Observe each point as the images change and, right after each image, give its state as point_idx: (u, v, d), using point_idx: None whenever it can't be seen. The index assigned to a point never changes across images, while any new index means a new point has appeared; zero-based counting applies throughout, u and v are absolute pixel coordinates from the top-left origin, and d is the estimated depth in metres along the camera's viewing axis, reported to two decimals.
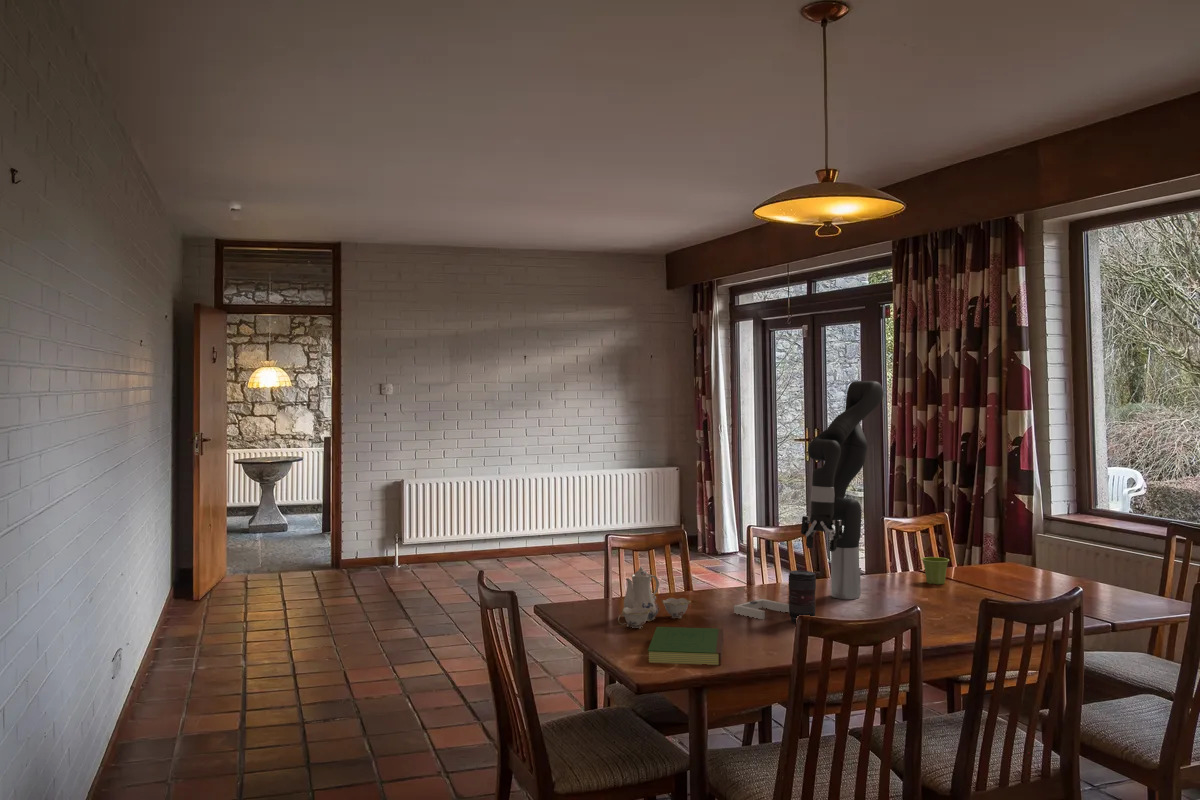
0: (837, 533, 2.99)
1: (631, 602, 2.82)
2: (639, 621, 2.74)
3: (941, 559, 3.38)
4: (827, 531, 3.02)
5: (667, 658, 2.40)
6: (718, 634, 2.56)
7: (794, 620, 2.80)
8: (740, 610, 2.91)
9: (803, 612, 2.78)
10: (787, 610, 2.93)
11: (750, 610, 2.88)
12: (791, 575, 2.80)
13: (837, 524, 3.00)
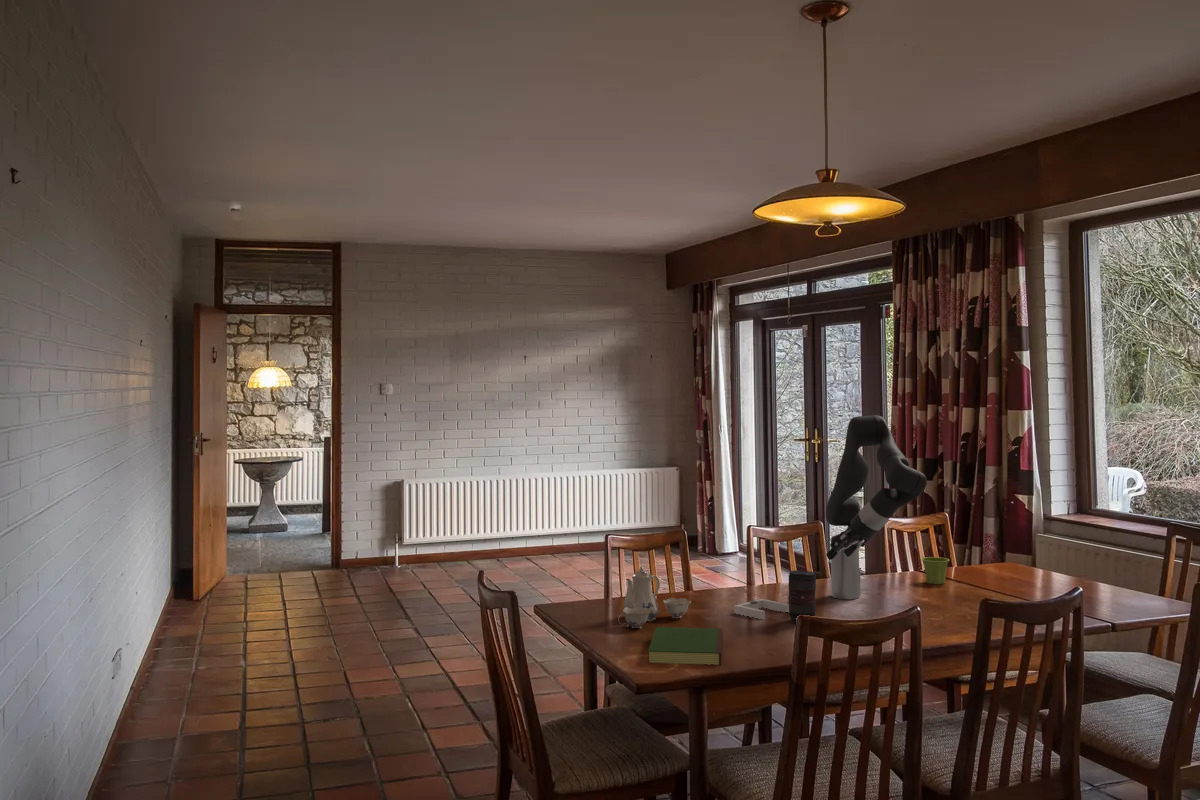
0: (865, 543, 2.72)
1: (631, 602, 2.82)
2: (639, 621, 2.74)
3: (942, 559, 3.38)
4: (860, 545, 2.69)
5: (667, 658, 2.40)
6: (718, 634, 2.56)
7: (794, 620, 2.80)
8: (740, 610, 2.91)
9: (803, 612, 2.78)
10: (787, 610, 2.93)
11: (750, 610, 2.88)
12: (791, 575, 2.80)
13: None
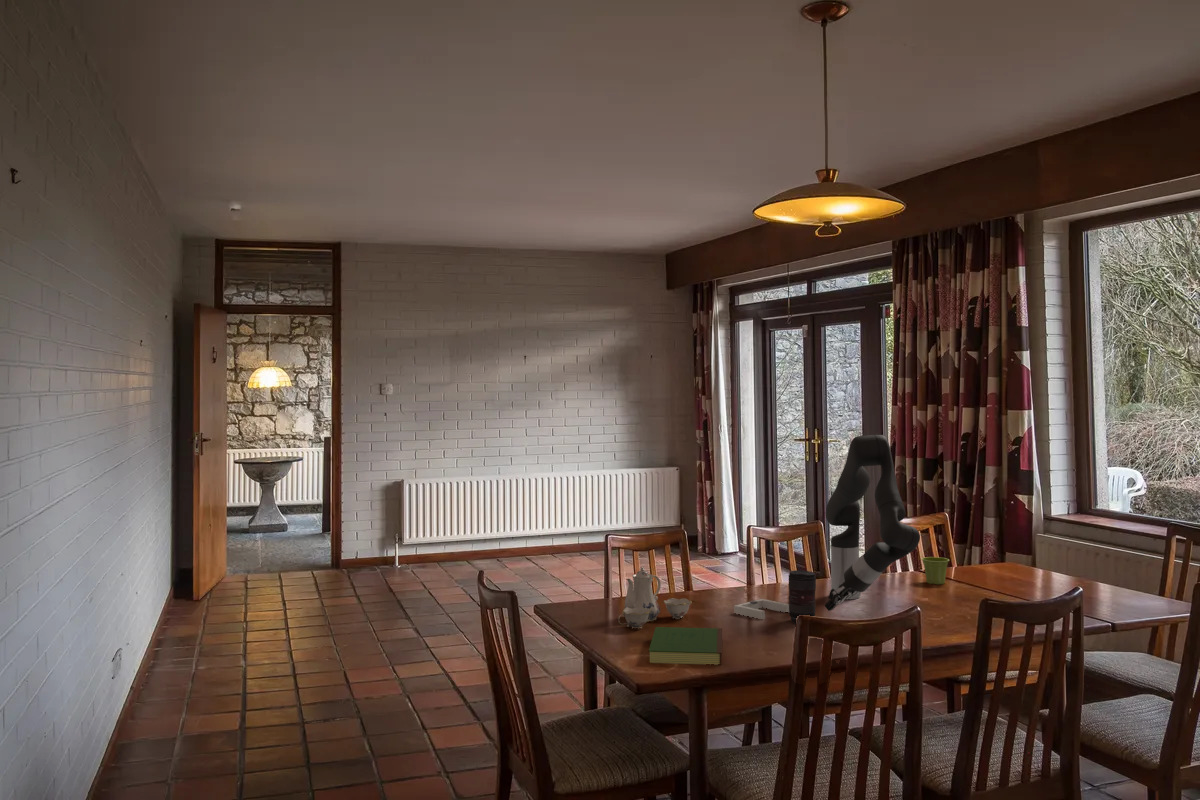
0: (848, 598, 2.74)
1: (632, 602, 2.82)
2: (640, 622, 2.74)
3: (942, 559, 3.38)
4: (847, 598, 2.71)
5: (668, 658, 2.40)
6: (718, 634, 2.56)
7: (794, 620, 2.80)
8: (740, 610, 2.91)
9: (803, 612, 2.78)
10: (787, 610, 2.93)
11: (750, 610, 2.88)
12: (791, 575, 2.80)
13: (856, 592, 2.74)
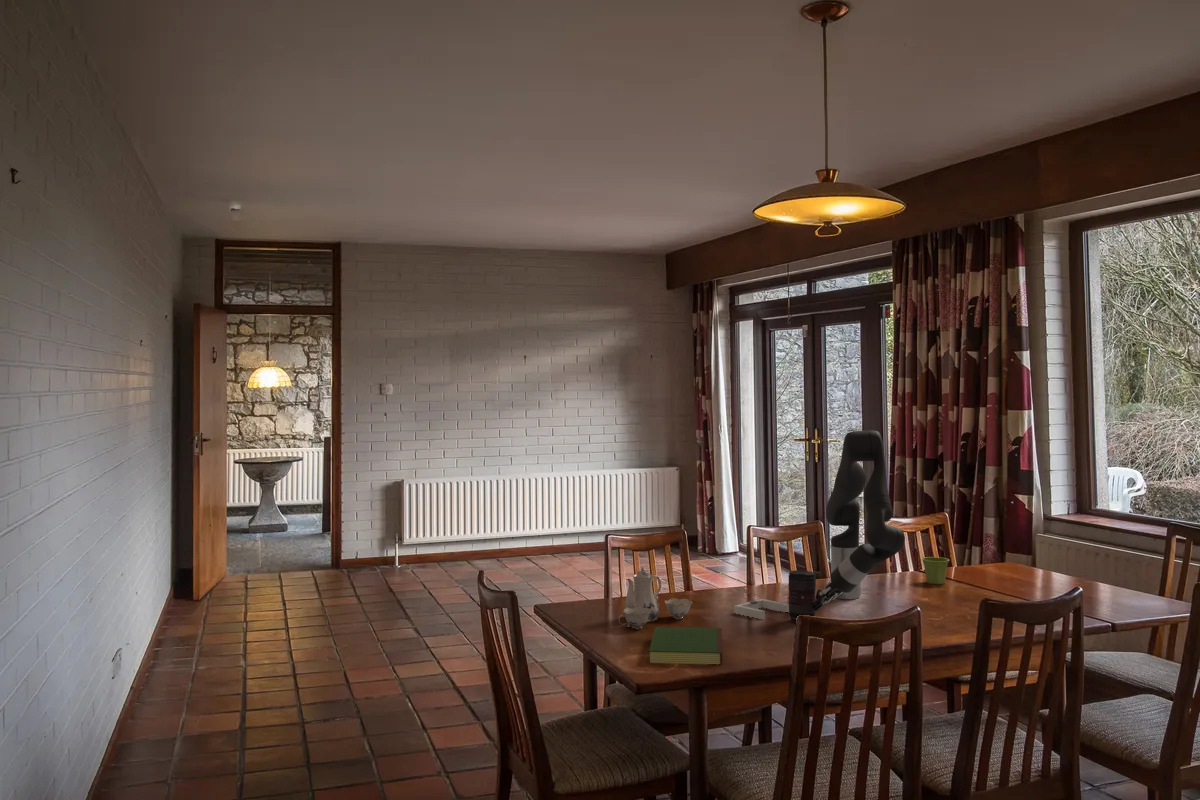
0: (835, 598, 2.77)
1: (632, 602, 2.82)
2: (640, 622, 2.74)
3: (942, 559, 3.38)
4: (834, 598, 2.75)
5: (668, 658, 2.40)
6: (717, 634, 2.56)
7: (794, 620, 2.80)
8: (740, 610, 2.91)
9: (803, 612, 2.78)
10: (787, 610, 2.93)
11: (750, 610, 2.88)
12: (791, 575, 2.80)
13: (843, 592, 2.77)
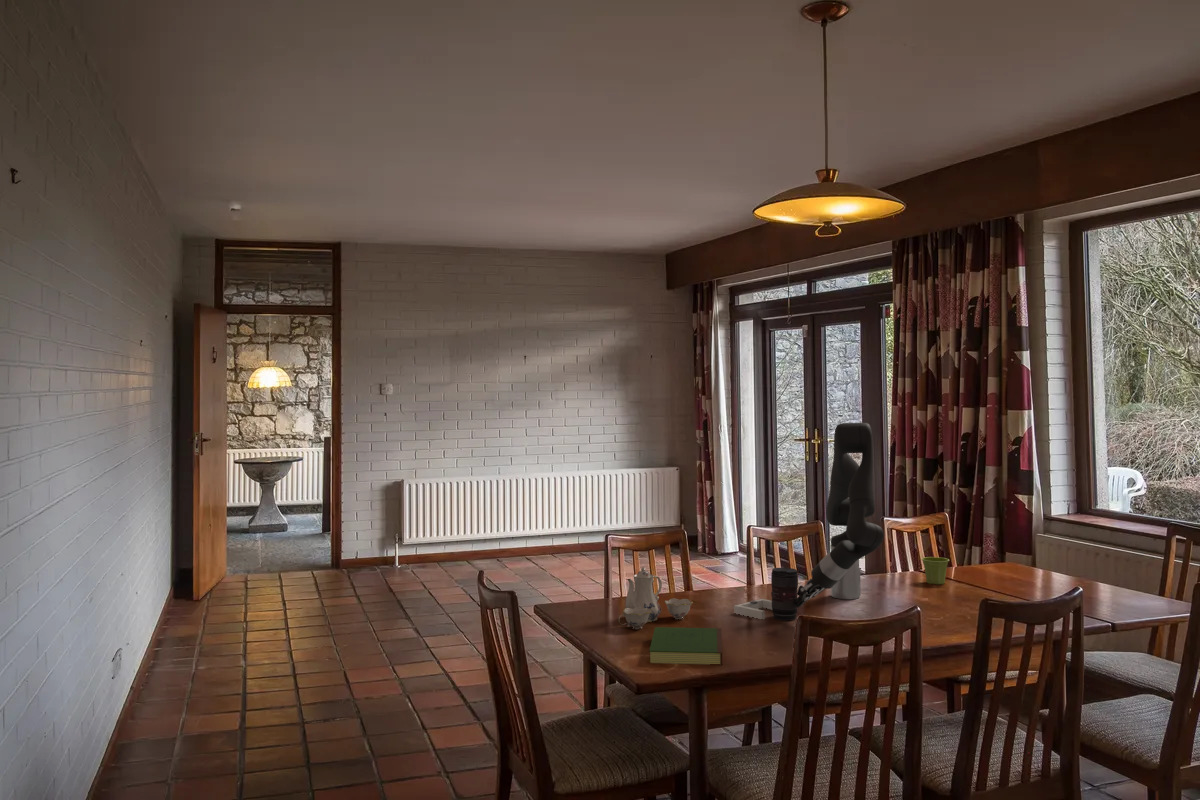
0: (816, 594, 2.82)
1: (632, 602, 2.82)
2: (640, 622, 2.74)
3: (942, 559, 3.38)
4: (815, 595, 2.79)
5: (668, 658, 2.40)
6: (717, 634, 2.56)
7: (776, 616, 2.85)
8: (740, 610, 2.91)
9: (785, 609, 2.82)
10: None
11: (750, 610, 2.88)
12: (773, 572, 2.85)
13: (824, 589, 2.82)
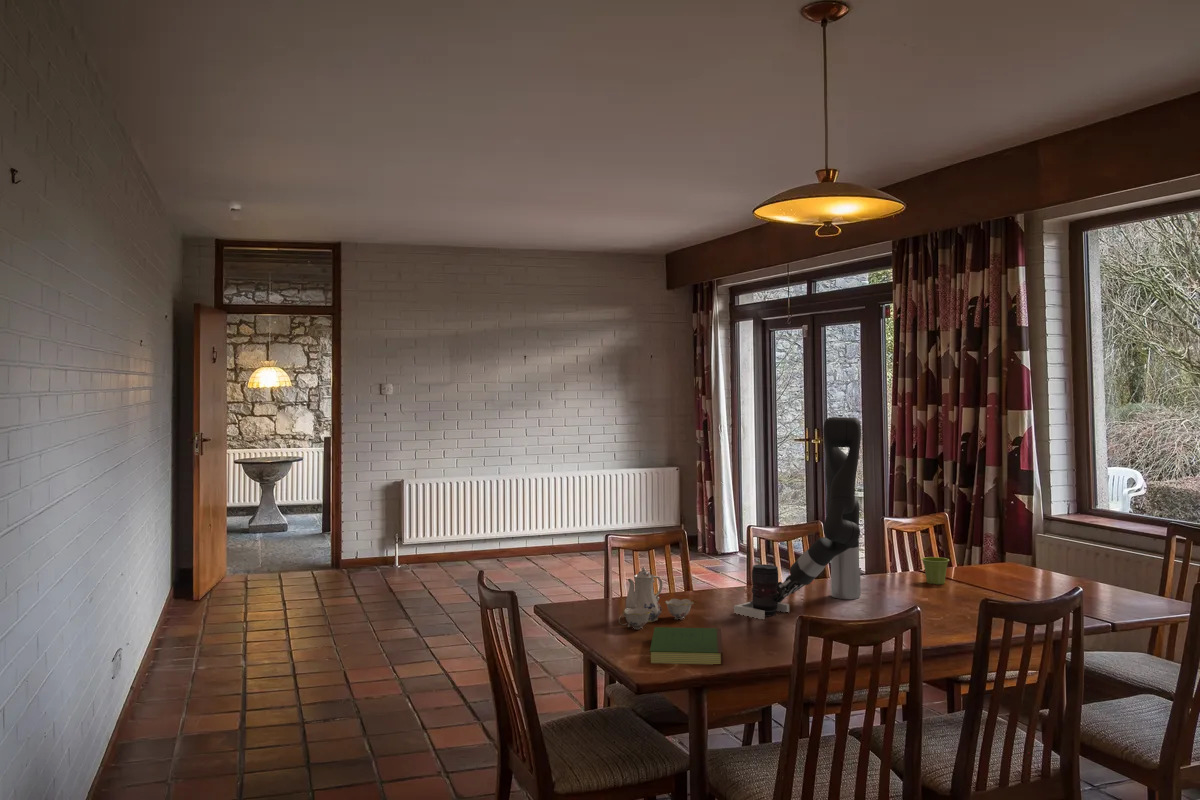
0: (795, 590, 2.87)
1: (633, 603, 2.82)
2: (640, 622, 2.73)
3: (942, 559, 3.38)
4: (794, 591, 2.85)
5: (669, 658, 2.40)
6: (717, 634, 2.56)
7: None
8: (740, 610, 2.91)
9: (764, 605, 2.88)
10: (787, 610, 2.93)
11: (750, 610, 2.88)
12: (753, 568, 2.91)
13: (803, 585, 2.87)
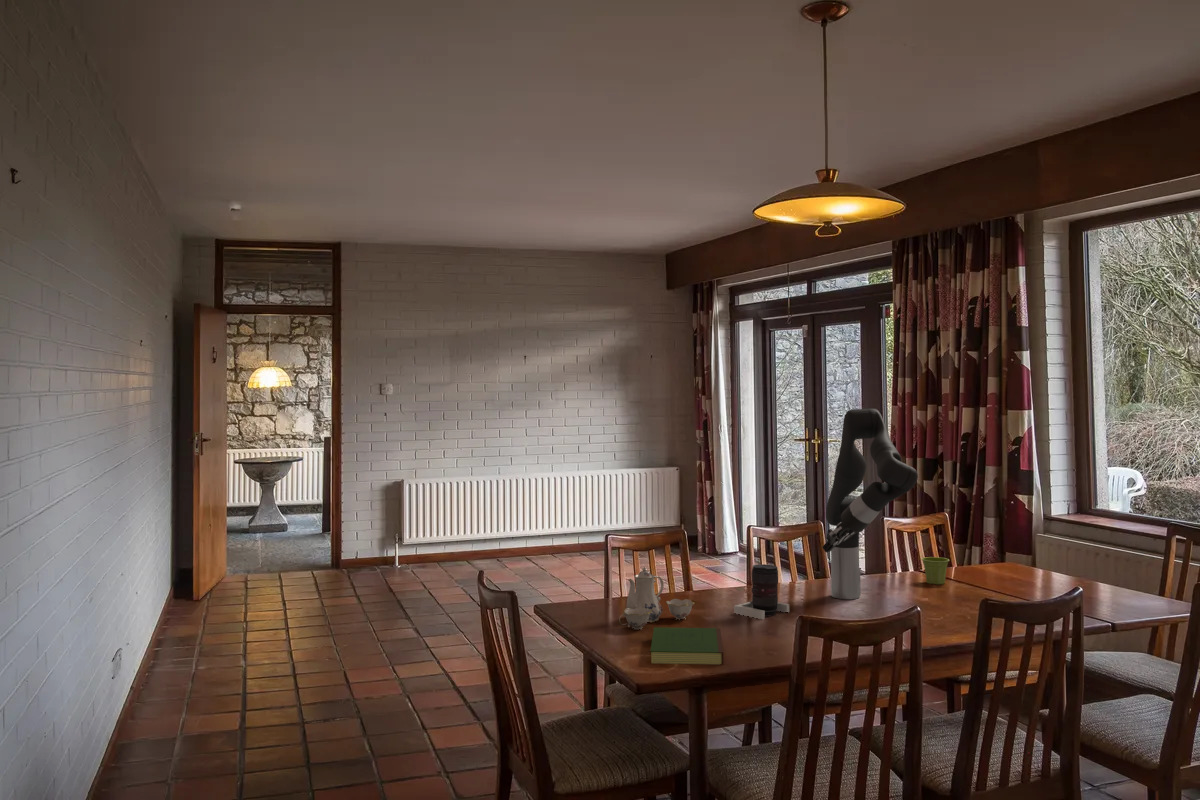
0: (846, 539, 2.74)
1: (633, 603, 2.81)
2: (640, 622, 2.73)
3: (942, 559, 3.38)
4: (845, 539, 2.71)
5: (670, 658, 2.40)
6: (717, 634, 2.56)
7: None
8: (740, 610, 2.91)
9: (763, 605, 2.88)
10: (787, 610, 2.93)
11: (750, 610, 2.88)
12: (753, 568, 2.91)
13: (854, 534, 2.74)
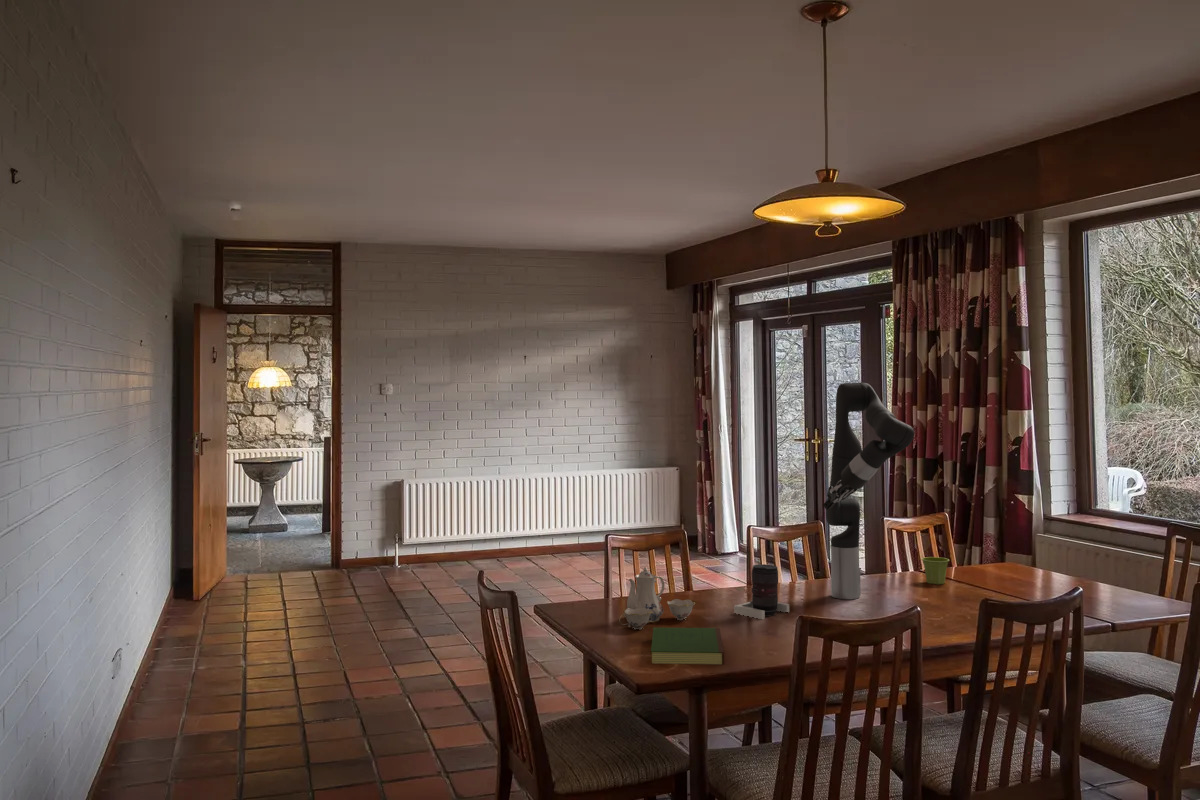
0: (846, 497, 2.85)
1: (634, 603, 2.81)
2: (640, 622, 2.73)
3: (942, 559, 3.38)
4: (844, 496, 2.83)
5: (670, 659, 2.40)
6: (716, 633, 2.57)
7: None
8: (740, 610, 2.91)
9: (763, 605, 2.88)
10: (787, 610, 2.93)
11: (750, 610, 2.88)
12: (753, 568, 2.91)
13: (853, 492, 2.85)
